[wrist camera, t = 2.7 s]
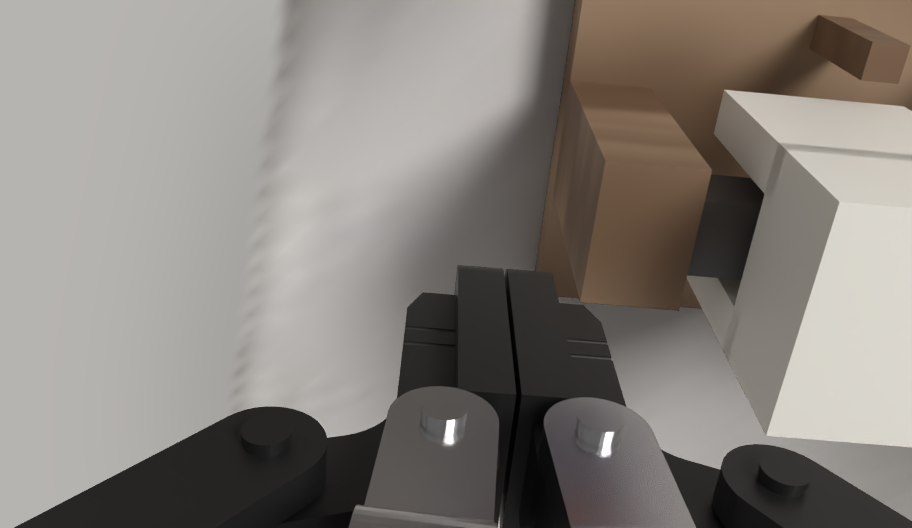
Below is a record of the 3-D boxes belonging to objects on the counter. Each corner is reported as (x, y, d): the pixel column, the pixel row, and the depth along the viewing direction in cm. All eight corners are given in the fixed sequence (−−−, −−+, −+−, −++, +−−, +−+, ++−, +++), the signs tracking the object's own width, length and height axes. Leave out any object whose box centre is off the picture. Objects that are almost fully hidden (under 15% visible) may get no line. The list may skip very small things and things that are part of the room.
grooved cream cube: (724, 89, 19) (839, 201, 13) (904, 106, 19) (1097, 224, 13) (682, 268, 21) (766, 435, 15) (845, 283, 21) (990, 453, 15)
